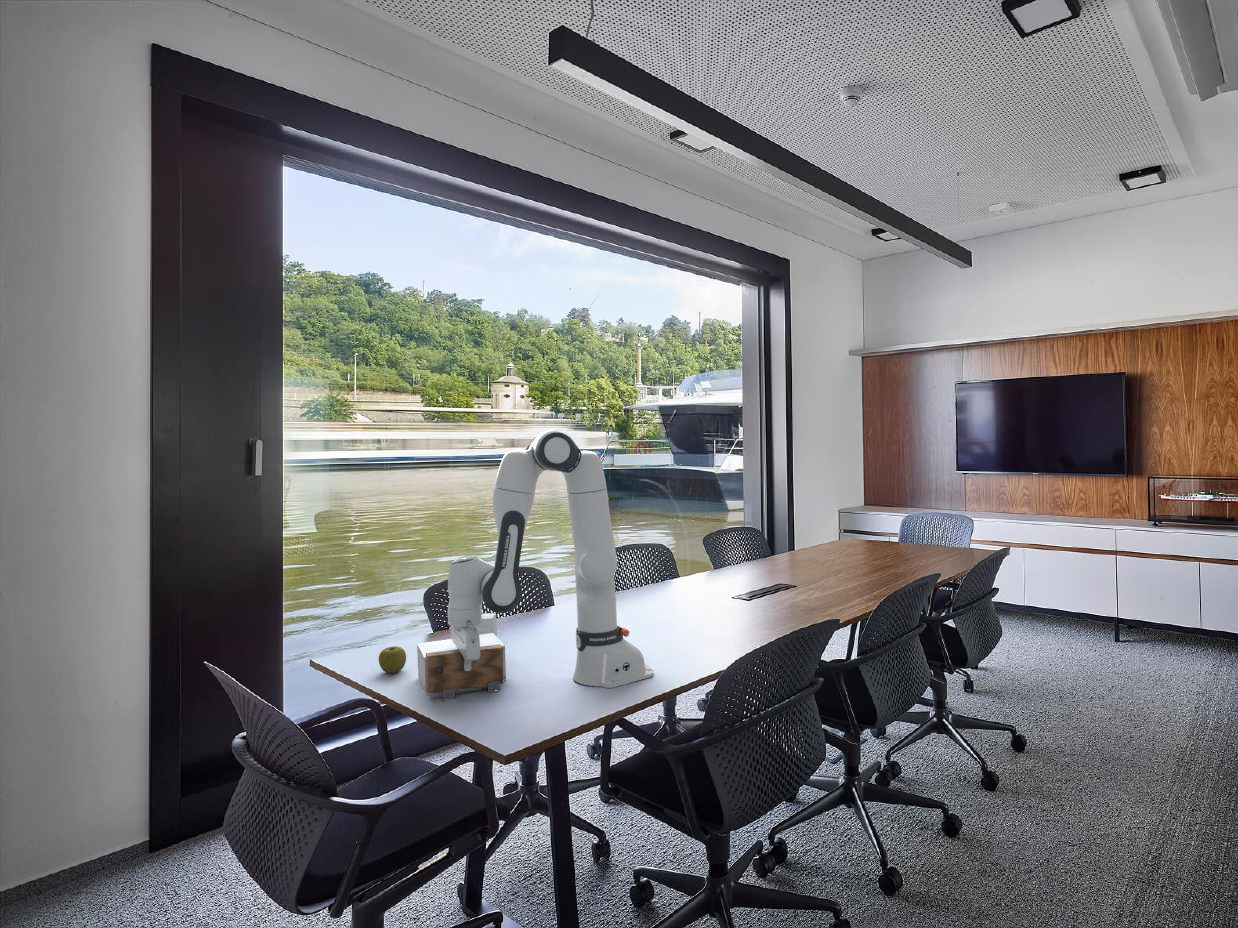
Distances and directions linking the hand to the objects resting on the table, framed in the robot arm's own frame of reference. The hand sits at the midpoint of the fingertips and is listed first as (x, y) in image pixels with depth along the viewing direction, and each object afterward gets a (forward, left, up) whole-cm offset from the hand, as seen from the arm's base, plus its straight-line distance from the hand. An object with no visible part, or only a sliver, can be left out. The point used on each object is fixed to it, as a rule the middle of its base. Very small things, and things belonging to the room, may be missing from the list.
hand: (465, 667), depth 190 cm
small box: (-11, -28, -7) cm, 30 cm away
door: (0, 0, -5) cm, 5 cm away
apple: (+16, -27, -7) cm, 32 cm away
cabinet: (-1, -7, -7) cm, 10 cm away
